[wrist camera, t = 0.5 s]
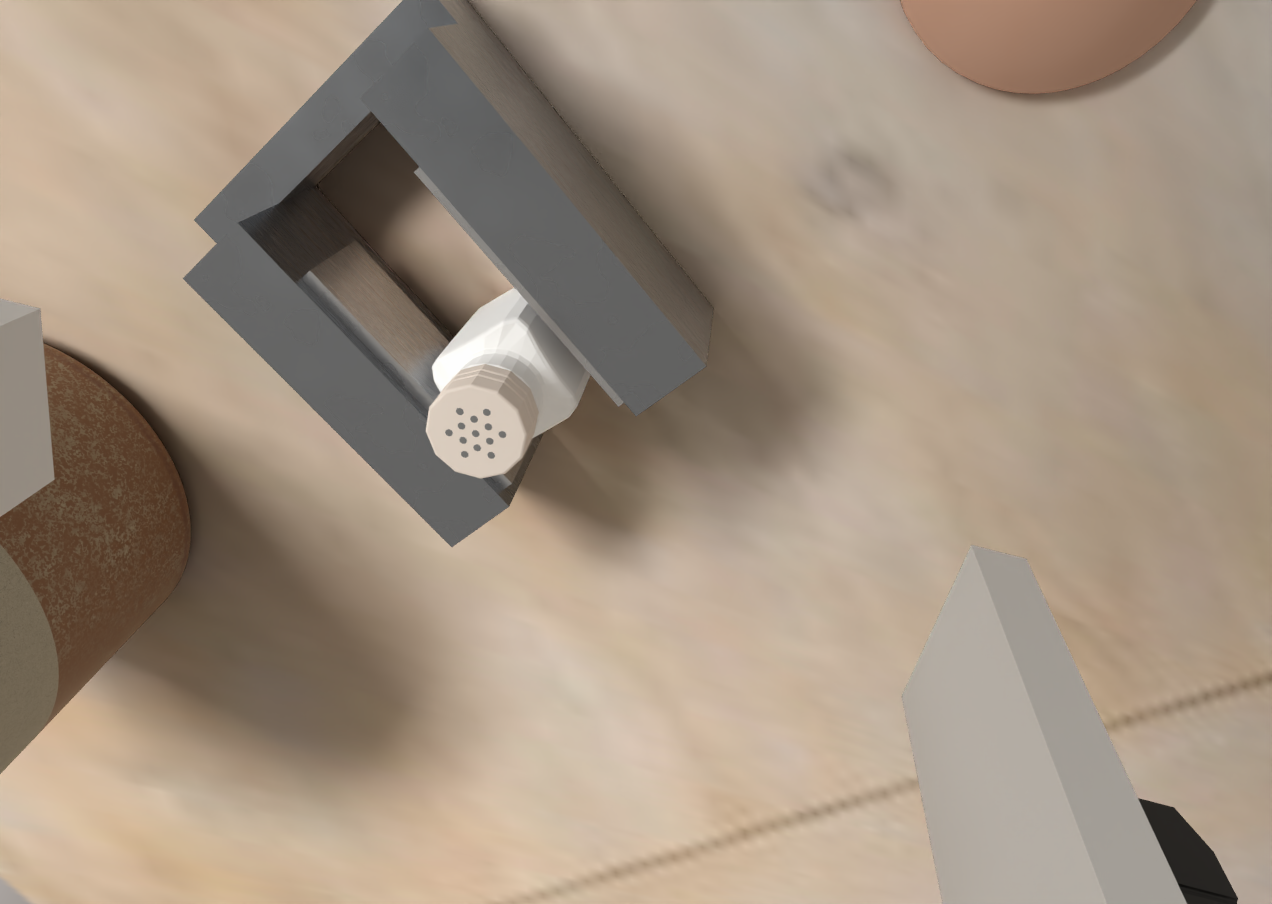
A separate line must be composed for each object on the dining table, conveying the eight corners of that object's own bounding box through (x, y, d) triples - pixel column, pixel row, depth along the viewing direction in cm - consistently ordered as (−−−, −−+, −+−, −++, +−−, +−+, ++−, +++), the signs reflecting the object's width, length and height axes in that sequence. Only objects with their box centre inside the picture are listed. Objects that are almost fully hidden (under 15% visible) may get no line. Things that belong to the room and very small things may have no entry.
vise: (235, 201, 36) (145, 240, 31) (450, -21, 32) (389, -21, 26) (492, 471, 40) (451, 547, 35) (713, 308, 36) (706, 366, 30)
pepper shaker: (608, 348, 37) (564, 458, 29) (526, 392, 38) (461, 509, 30) (553, 262, 36) (491, 350, 27) (470, 310, 37) (386, 409, 28)
